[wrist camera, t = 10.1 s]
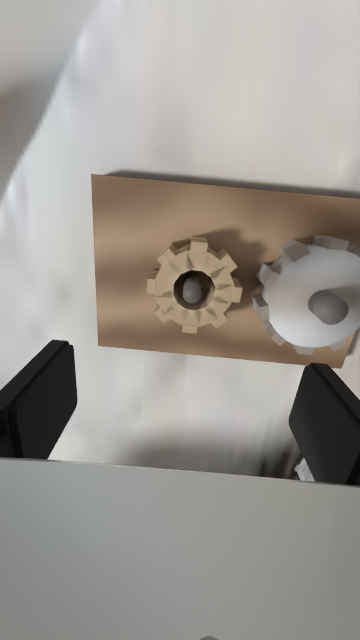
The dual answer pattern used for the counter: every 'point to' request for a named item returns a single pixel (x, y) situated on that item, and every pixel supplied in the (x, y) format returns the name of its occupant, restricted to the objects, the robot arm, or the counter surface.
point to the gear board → (252, 271)
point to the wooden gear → (211, 303)
